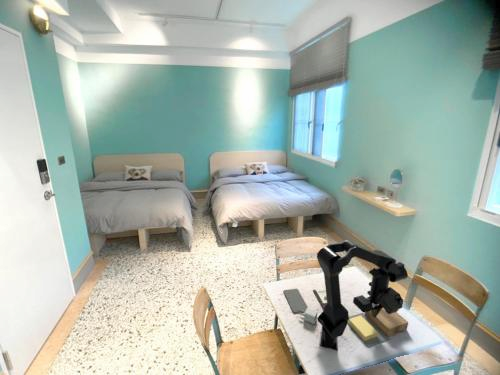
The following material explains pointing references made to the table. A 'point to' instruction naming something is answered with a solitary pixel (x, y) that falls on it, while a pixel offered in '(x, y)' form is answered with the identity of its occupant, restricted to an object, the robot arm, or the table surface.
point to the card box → (363, 328)
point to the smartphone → (295, 300)
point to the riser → (388, 322)
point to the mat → (380, 336)
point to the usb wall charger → (309, 315)
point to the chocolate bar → (321, 297)
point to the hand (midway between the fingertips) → (374, 316)
